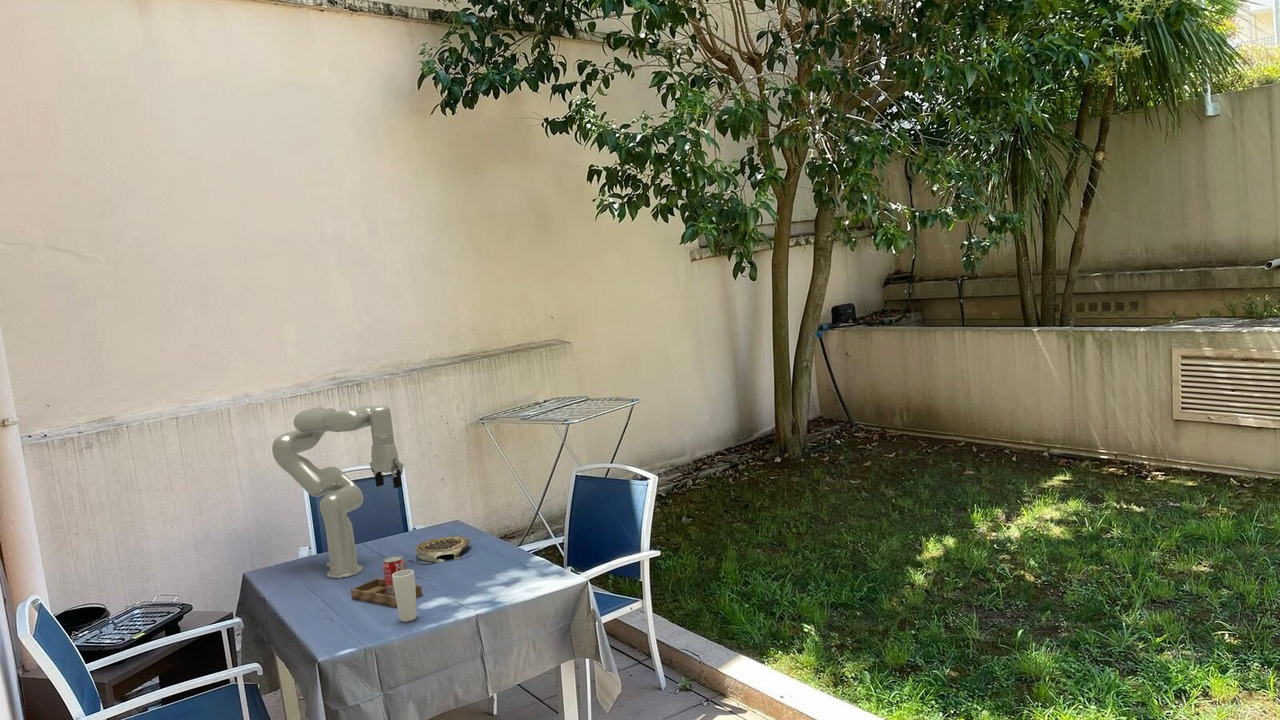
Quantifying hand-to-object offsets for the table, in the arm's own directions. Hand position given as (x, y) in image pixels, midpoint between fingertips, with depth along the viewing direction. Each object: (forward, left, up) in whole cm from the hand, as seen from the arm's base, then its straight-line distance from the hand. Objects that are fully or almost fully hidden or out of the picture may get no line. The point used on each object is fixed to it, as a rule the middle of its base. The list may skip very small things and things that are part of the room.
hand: (389, 486), depth 312 cm
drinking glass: (+38, -29, -34) cm, 58 cm away
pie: (-3, +25, -34) cm, 43 cm away
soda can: (+20, -18, -32) cm, 42 cm away
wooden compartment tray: (+15, -18, -33) cm, 41 cm away
